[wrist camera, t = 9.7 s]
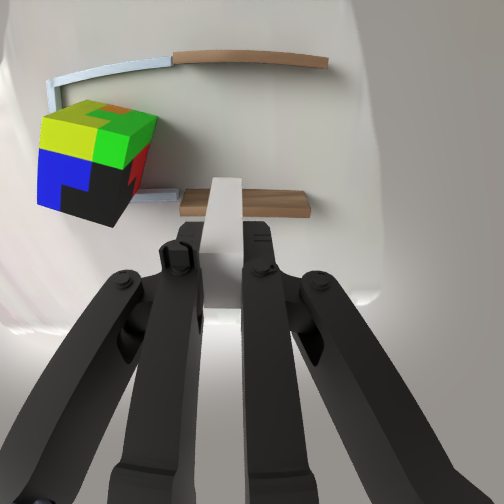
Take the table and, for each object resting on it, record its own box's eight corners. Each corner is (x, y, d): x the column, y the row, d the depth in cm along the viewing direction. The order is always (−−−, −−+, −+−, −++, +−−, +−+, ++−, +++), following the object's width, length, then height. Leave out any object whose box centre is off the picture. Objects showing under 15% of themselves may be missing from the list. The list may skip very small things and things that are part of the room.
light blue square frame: (52, 79, 26) (46, 80, 25) (173, 56, 27) (170, 56, 26) (71, 200, 36) (66, 205, 35) (179, 196, 37) (176, 201, 36)
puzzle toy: (75, 170, 34) (37, 204, 26) (86, 99, 29) (42, 117, 21) (139, 188, 36) (113, 228, 28) (157, 116, 31) (129, 136, 23)
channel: (182, 54, 27) (172, 52, 23) (316, 58, 28) (328, 57, 24) (186, 197, 38) (180, 216, 33) (301, 199, 38) (309, 217, 34)
